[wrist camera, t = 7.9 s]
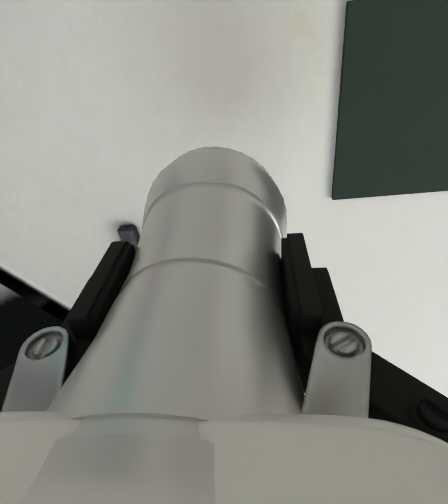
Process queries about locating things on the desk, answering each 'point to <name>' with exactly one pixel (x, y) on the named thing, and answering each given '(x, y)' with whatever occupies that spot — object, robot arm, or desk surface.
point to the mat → (393, 99)
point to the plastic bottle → (180, 342)
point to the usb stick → (129, 234)
